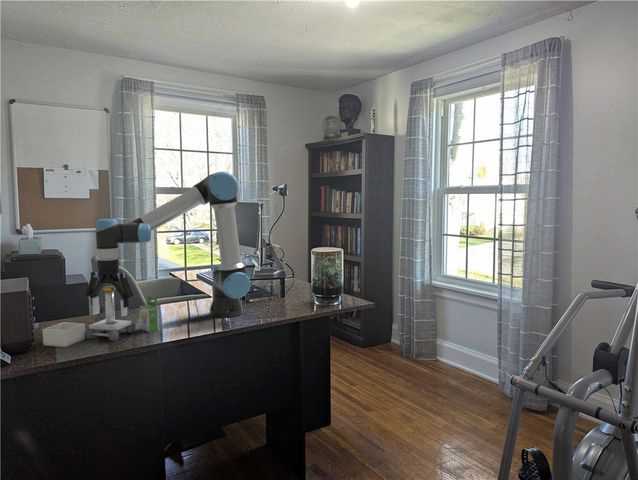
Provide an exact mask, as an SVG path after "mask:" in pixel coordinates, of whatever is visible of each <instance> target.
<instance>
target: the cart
mask: <svg viewBox="0 0 638 480" xmlns="http://www.w3.org/2000/svg"><path fill="white" fill-rule="evenodd" d="M96 330H103V331H104V332H106V330H111V331H110V332H109V334H106V333H101V332H96ZM118 330H125V332H126V333H127V334H133V333H134V332H135V330H136V324H135V323H133V321H132V320H123V319H122V320H121V319H115V324H113V325H106V318H104V319H103V320H99V321H97V322H94V323H92V324H89V325H88V329H86V330H85V338H86V339H87V340H88V339H89V340H93V339H94V338H95V337H99V336H100V337H107V336H108V337H107V338H108V340H109V341H113V342H115V341H117V340H119V336H120V332H119V331H118Z"/></svg>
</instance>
